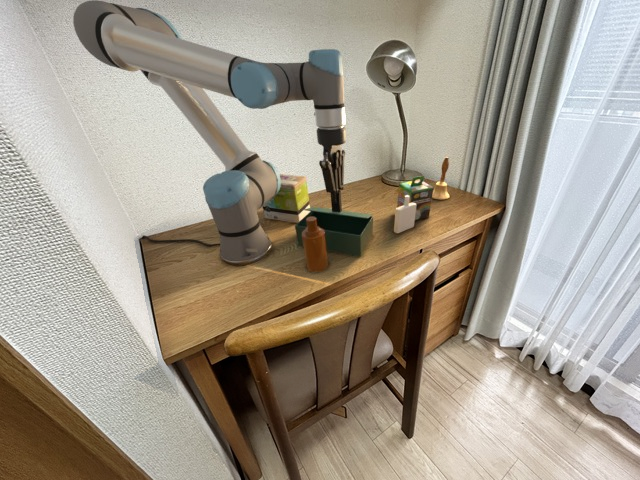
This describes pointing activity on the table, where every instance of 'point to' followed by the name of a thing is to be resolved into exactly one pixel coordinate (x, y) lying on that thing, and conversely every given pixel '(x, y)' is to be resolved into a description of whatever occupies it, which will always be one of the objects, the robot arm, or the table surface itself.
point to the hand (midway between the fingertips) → (337, 211)
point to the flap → (343, 213)
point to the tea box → (289, 200)
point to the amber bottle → (314, 246)
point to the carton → (340, 232)
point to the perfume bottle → (405, 216)
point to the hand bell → (442, 183)
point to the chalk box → (416, 196)
